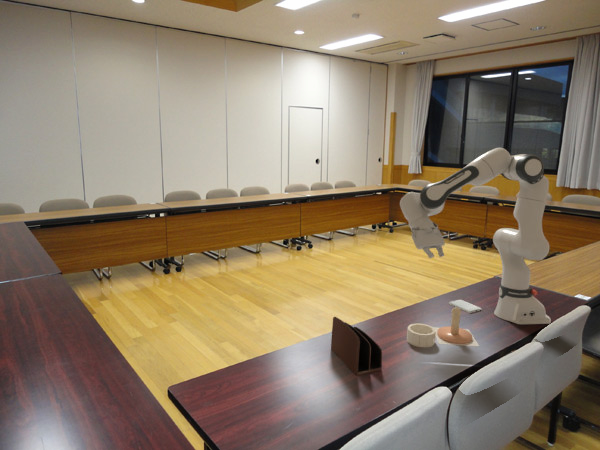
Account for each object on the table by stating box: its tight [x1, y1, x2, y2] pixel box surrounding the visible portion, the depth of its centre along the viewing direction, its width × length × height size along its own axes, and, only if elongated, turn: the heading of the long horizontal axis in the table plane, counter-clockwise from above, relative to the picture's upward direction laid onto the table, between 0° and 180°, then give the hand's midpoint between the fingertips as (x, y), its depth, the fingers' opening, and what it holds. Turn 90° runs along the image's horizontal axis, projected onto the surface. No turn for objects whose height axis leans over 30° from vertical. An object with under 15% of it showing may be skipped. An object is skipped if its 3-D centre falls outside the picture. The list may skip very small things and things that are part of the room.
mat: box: [432, 326, 480, 347], centre depth 167 cm, size 15×15×1 cm
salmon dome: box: [437, 307, 473, 344], centre depth 166 cm, size 13×13×12 cm
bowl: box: [406, 323, 436, 348], centre depth 162 cm, size 10×10×6 cm
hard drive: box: [448, 299, 483, 314], centre depth 199 cm, size 2×8×12 cm
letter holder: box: [330, 316, 383, 376], centre depth 149 cm, size 10×20×14 cm, turn 21°
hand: (437, 256), depth 175 cm, fingers open, 8 cm apart
